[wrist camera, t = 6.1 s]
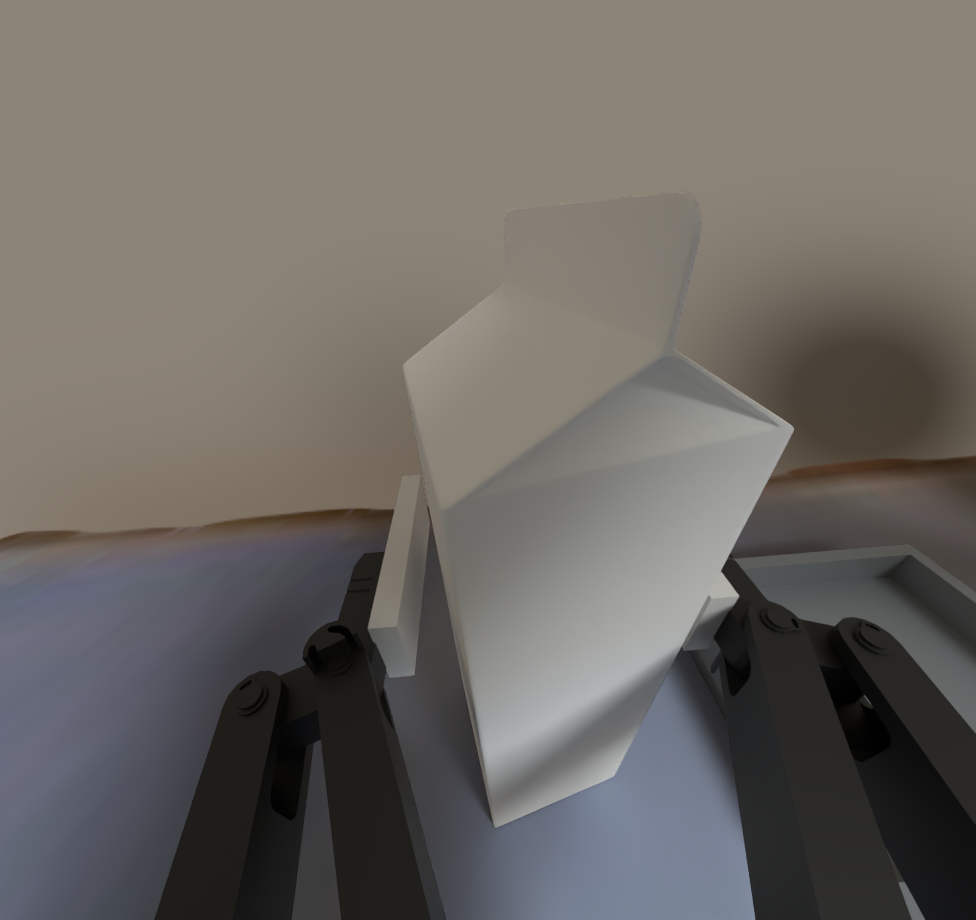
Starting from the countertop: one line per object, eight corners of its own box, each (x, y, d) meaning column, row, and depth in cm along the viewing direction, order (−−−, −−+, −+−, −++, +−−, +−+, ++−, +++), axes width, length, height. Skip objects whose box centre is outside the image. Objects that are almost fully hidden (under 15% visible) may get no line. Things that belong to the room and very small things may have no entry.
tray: (882, 572, 25) (909, 543, 23) (1252, 883, 13) (1362, 872, 11) (658, 592, 24) (669, 564, 22) (838, 931, 13) (888, 926, 11)
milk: (558, 654, 21) (623, 204, 9) (616, 780, 16) (943, 177, 4) (460, 687, 20) (373, 215, 7) (491, 834, 15) (389, 196, 3)
